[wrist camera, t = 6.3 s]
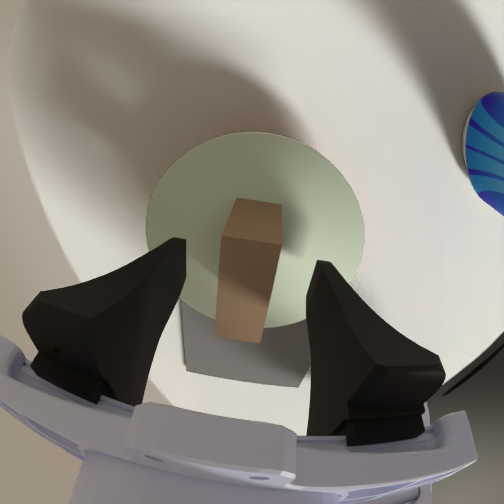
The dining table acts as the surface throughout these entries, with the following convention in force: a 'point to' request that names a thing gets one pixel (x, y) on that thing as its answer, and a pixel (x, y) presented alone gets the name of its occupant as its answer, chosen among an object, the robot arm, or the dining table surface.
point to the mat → (246, 352)
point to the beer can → (486, 149)
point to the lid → (255, 228)
